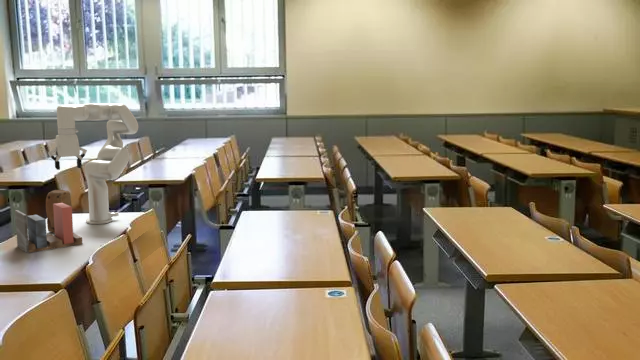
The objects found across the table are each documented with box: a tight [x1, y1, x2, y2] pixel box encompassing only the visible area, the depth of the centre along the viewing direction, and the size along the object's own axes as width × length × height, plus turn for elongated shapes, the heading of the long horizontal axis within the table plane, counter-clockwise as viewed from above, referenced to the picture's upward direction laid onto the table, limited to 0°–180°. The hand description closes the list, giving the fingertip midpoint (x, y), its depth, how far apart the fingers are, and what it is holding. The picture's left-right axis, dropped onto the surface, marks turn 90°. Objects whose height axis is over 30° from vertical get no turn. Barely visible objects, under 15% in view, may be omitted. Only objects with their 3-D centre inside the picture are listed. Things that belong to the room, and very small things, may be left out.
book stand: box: [14, 209, 83, 254], centre depth 262 cm, size 23×14×16 cm, turn 131°
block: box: [45, 189, 73, 234], centre depth 284 cm, size 11×8×20 cm
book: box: [53, 203, 74, 244], centre depth 266 cm, size 4×12×16 cm, turn 41°
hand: (68, 168), depth 283 cm, fingers open, 9 cm apart
